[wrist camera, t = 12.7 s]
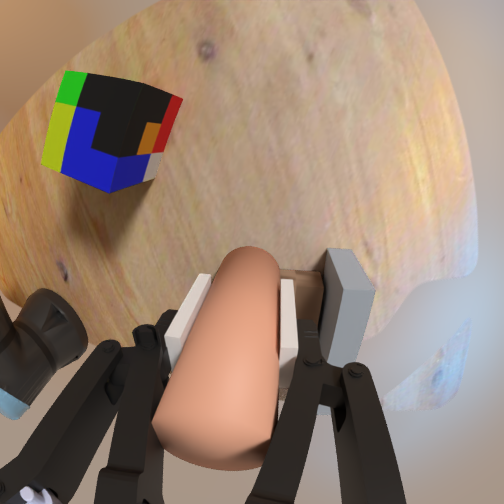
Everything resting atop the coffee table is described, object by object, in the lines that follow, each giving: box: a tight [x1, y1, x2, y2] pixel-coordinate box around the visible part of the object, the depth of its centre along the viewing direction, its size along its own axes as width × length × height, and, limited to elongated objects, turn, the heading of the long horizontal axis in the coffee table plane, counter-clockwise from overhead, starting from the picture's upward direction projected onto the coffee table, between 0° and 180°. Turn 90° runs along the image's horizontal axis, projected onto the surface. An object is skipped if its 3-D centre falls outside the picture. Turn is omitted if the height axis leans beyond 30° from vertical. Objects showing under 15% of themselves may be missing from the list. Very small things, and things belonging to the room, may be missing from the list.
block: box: [213, 269, 324, 326], centre depth 34 cm, size 12×12×4 cm
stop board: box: [317, 248, 376, 415], centre depth 31 cm, size 3×18×10 cm, turn 178°
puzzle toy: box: [41, 71, 183, 194], centre depth 25 cm, size 10×10×10 cm
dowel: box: [151, 246, 280, 471], centre depth 14 cm, size 4×4×14 cm
